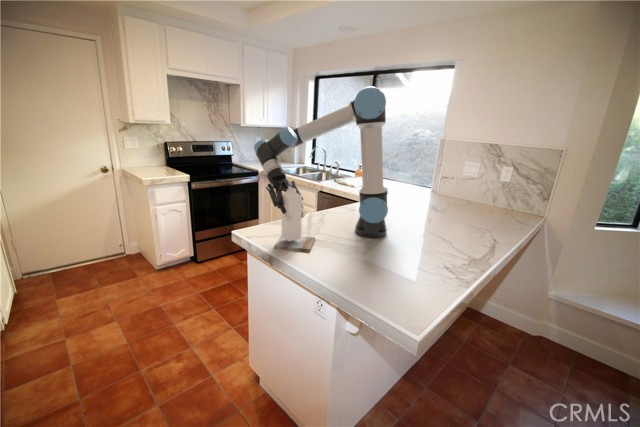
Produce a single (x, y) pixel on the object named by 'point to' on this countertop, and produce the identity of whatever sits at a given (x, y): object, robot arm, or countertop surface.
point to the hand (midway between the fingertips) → (296, 218)
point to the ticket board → (295, 244)
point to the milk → (294, 205)
